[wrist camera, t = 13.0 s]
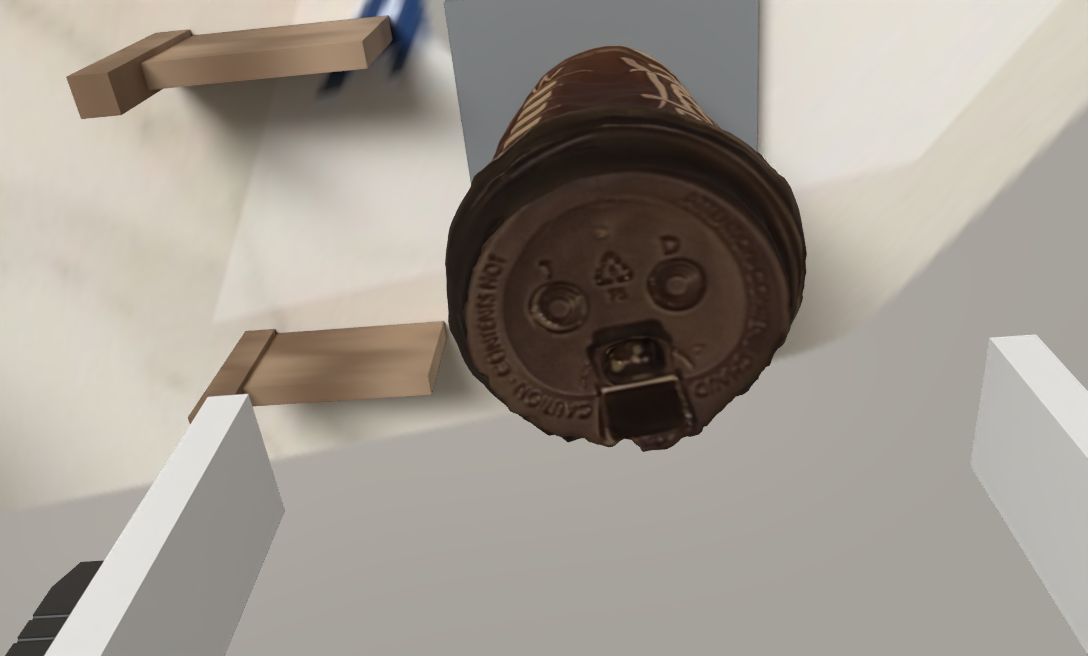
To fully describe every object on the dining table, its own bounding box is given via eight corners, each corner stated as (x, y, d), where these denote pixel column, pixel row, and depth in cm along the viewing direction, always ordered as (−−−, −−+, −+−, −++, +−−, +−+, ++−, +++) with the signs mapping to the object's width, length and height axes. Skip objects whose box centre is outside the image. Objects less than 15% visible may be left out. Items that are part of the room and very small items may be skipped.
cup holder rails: (253, 356, 37) (197, 445, 32) (155, 33, 31) (66, 76, 25) (447, 343, 36) (423, 431, 31) (387, 9, 30) (345, 48, 25)
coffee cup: (651, 292, 34) (685, 528, 23) (446, 200, 32) (372, 403, 21) (778, 81, 30) (897, 239, 19) (551, -35, 28) (530, 60, 17)
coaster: (487, 274, 35) (485, 281, 34) (446, -1, 30) (443, 3, 29) (753, 253, 34) (756, 260, 33) (755, -33, 29) (758, -30, 28)
